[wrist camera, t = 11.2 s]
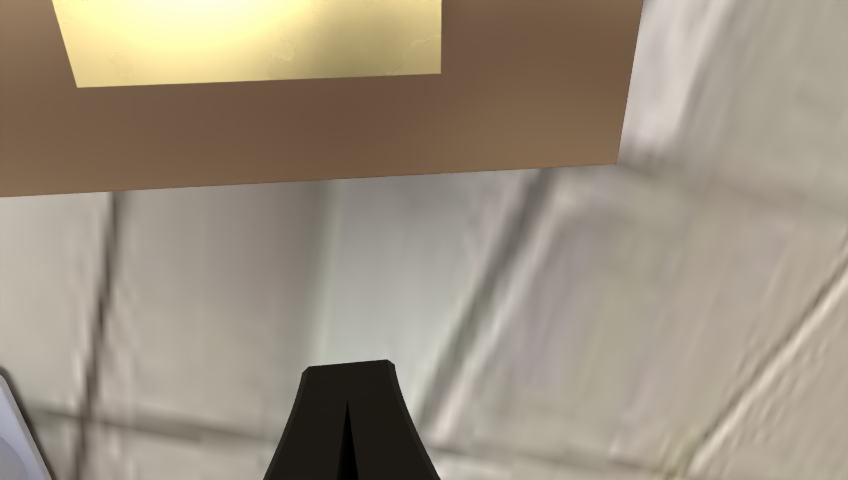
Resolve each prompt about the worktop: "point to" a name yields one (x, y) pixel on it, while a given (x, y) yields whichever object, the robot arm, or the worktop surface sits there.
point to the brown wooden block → (326, 108)
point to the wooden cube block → (247, 39)
